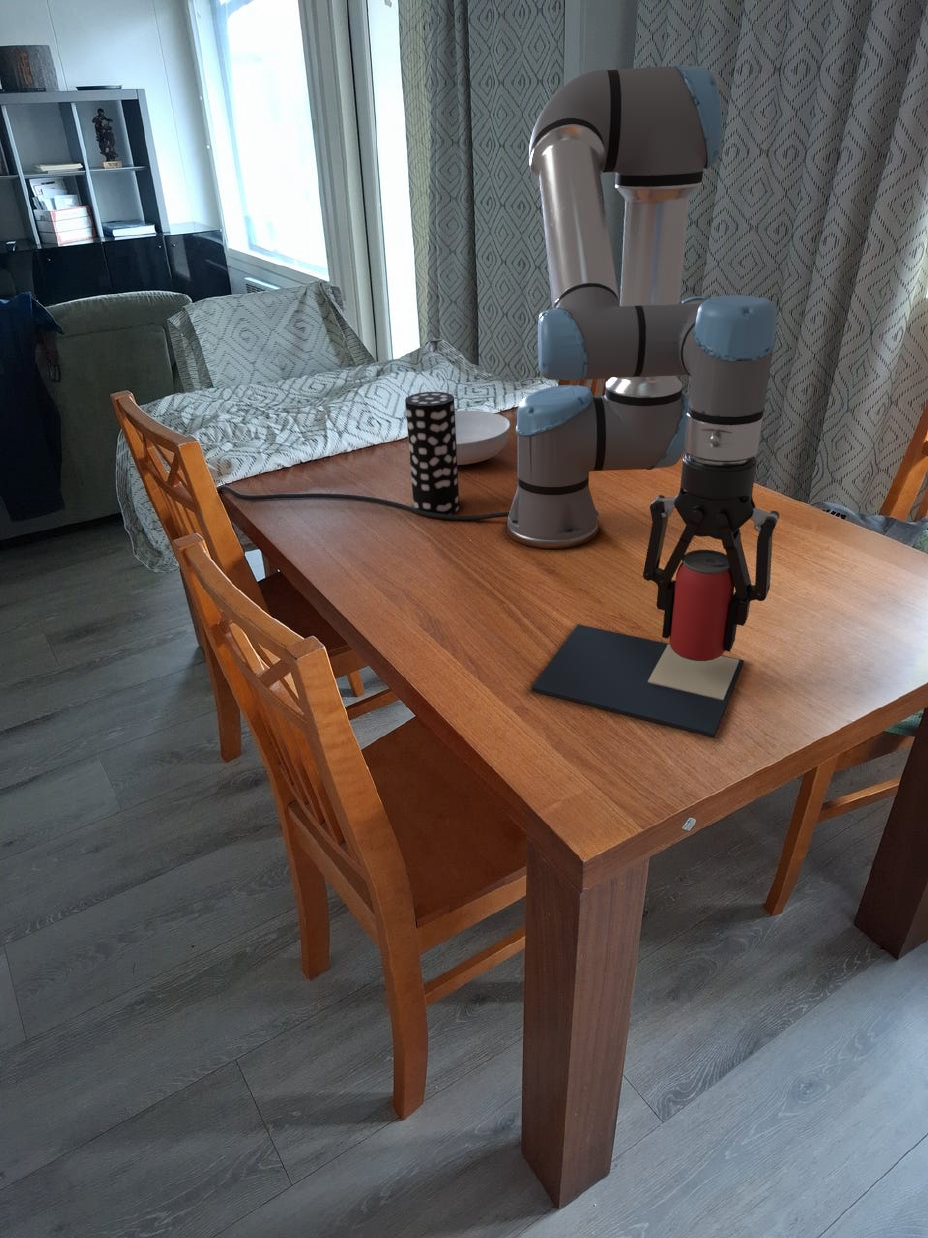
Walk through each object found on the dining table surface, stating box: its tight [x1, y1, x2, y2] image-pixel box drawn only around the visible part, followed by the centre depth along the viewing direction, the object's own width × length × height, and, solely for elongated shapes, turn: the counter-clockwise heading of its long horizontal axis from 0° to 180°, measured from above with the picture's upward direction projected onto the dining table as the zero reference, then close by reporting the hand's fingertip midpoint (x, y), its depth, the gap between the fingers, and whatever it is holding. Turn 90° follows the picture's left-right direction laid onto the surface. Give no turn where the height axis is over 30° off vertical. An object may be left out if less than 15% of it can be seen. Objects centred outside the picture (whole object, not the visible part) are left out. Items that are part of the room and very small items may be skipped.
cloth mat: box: [530, 624, 745, 739], centre depth 102 cm, size 22×16×1 cm
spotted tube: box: [404, 391, 460, 517], centre depth 145 cm, size 8×8×20 cm
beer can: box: [669, 549, 735, 661], centre depth 96 cm, size 7×7×12 cm
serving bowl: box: [455, 410, 511, 466], centre depth 170 cm, size 21×21×7 cm
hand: (698, 638), depth 99 cm, fingers closed on beer can, 6 cm apart
